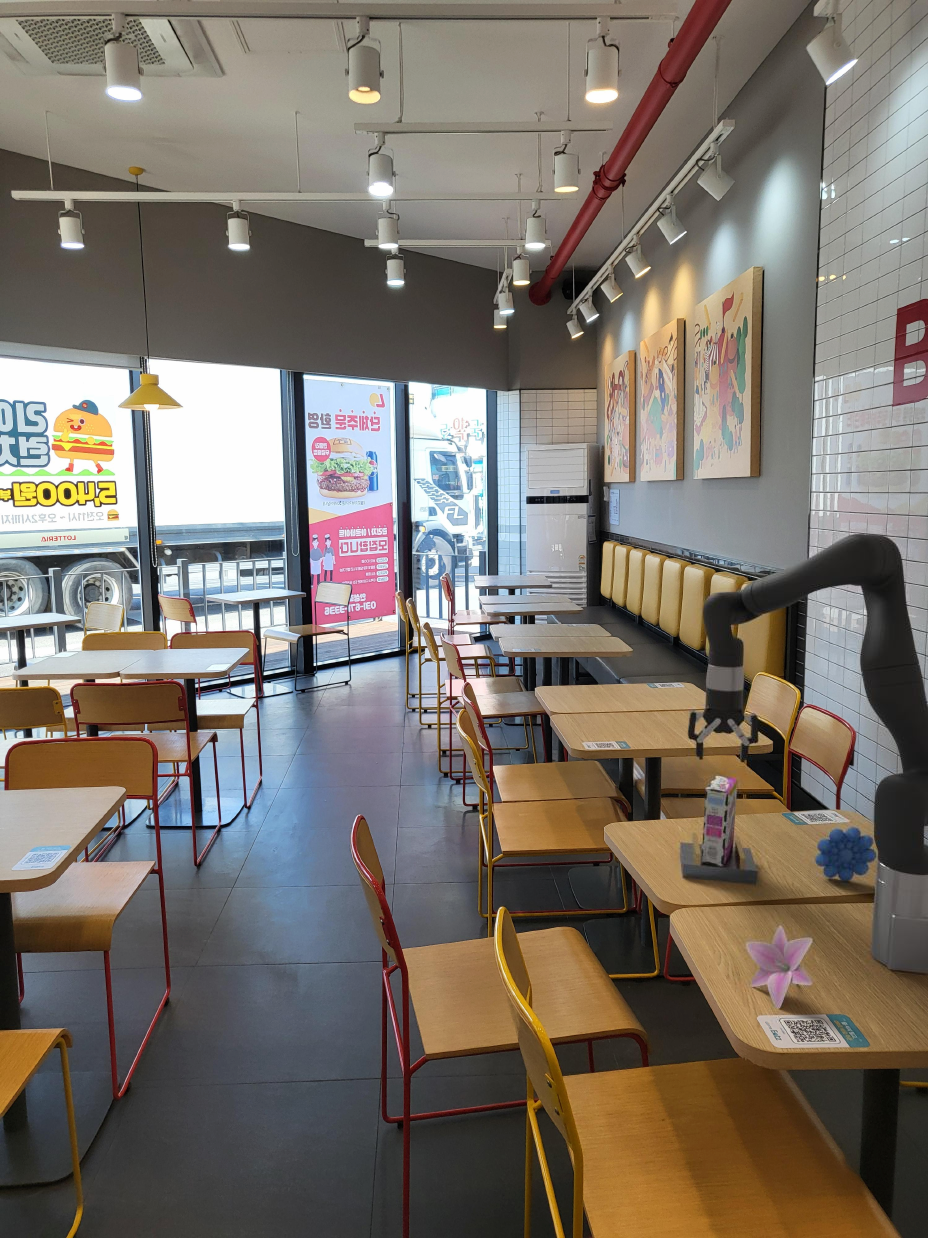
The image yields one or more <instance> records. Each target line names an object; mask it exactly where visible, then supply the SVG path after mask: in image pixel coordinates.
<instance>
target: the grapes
mask: <svg viewBox="0 0 928 1238" xmlns="http://www.w3.org/2000/svg"><path fill="white" fill-rule="evenodd" d="M828 838H829V839H828ZM828 838H822V839H820V840H819V841H818V843H817V845H816V846H817V847H816V848H817V850H818V851H819V853H817V855H816V856H815V858H814V862H815V864H816V865H817V866H819V867H823V870H822V872H823V875H824V876H825V877H826V878H828V879H832V878H835V877H838V879H839V880H840V881H843V882H849V881H852V879H853V877H854V876H856V875H857V876H860V877H862V876H863V875H867V874H868V871H869V869H870V868H869V867H870V865H869V863H873V862H874V861H875V860H876V858H878V854H877V852H876V850H875V849H874V848H872V846H873V844H874V838H873V837H872V836H871V835H869V834H862V832H861V830H860V829H859V828H858V827H855V826H850V827H848V828H846V830H845V832H844V830H843V829H840V828H835V829H832V830H831V831H830V832H829V834H828Z"/></svg>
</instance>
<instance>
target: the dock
mask: <svg viewBox="0 0 928 1238" xmlns="http://www.w3.org/2000/svg"><path fill="white" fill-rule="evenodd" d="M698 838H699V837H698V833H697V832H692V833H691V843H690V842H680V843H679V859H680V860H679V861H680V867H681V875H682V878H685V879H693V880H694V879H696V880H704V881H705V880H706V881H717V882H727V883H738V884H747V885H757V883H758V882H757V881H758V868H757V865H756V863H755V859H754V856H753V854H752V851H751V848H750V847H749V848H748V847H743V845H742V843H741V839H740V836H735V835H734V842H733V850H732V852H731V853H730V855H729V857H728V859H727V861H726V863H725V864H724V866H723V867H721V866H716V865H711V864H707V863H703V862H701V859H702V843H700V842H699V839H698Z"/></svg>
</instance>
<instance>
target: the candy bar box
mask: <svg viewBox="0 0 928 1238" xmlns="http://www.w3.org/2000/svg"><path fill="white" fill-rule="evenodd" d="M704 796H705V798H704V813H703V814H704V816H703V829H702V843H701V844H702V859H701V862H703V863H707V864H711V865H716V866H721V867H723V866H724V864H725V863H726V861H727V859H728V857H729V855H730V853H731V852H732V850H733V846H734V836H735V824H736V822H735V821H736V809H737V796H738V778H733V777H728V776H720V775H716V776H715V777H714V778H713V779H712V780H711V782H710V783H709V784H708V786H707V787H705V795H704Z"/></svg>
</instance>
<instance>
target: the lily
mask: <svg viewBox="0 0 928 1238" xmlns="http://www.w3.org/2000/svg"><path fill="white" fill-rule="evenodd" d="M812 943H813V938H812V937H801V938H797V939H793V940H790V941H788V938H787V935H786V933H785V930H784V928H783V926H782V925H779V926H778V927H777V929H776V930H775V933H774V935H773V937H772V942H771V943H768V942H766V941H765V942H763V941H747V942H746V943H745V947H746V950H747V951H748V954H749V955H750V957H751V958H752V960H753V961H754V963H755V964H756V965H757V966H758V967H759V968H758V970H757V971H756V972H755V973H754V975H753V977H752V978H751V980H750V981H751V982H750V983H749V984H750V987H751V988H752V987H753V988H755V987H760V986H765V985H767V990H768V993H769V996H770V999H771V1001H772V1003H773V1005H774V1007H775V1008H776V1009H778V1010H779V1009H780V1008H781V1006H782V1004H783V1002H784V999H785V996H786V994H787V991H788V989H789V986H790V984H795V985H796V986H798V985H801V986H803V985H804V986H811V985H813V981H812V980H811V977H810V976H809V975H808V973H807V972H806V970H805V969H804V968H803V966H802V965H801V964H800V963H801V961H802V960H803V958H804V956H805V955H806V953H807V952H808V950H809V948H810V947H811V945H812Z"/></svg>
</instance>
